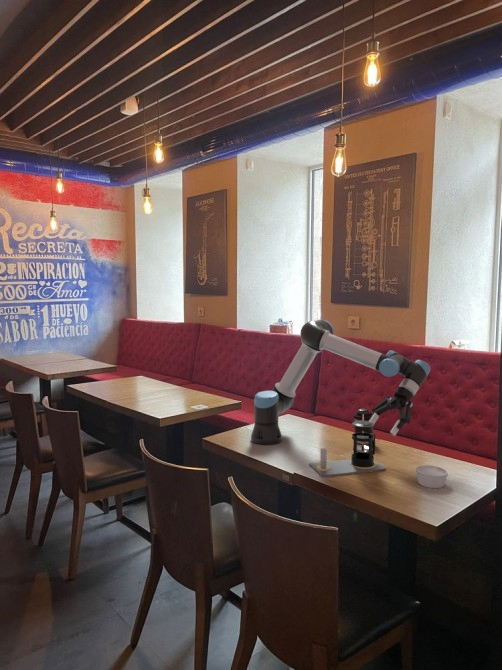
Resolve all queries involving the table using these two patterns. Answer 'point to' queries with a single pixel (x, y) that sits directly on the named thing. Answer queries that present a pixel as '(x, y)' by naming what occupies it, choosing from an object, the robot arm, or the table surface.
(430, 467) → the ramekin
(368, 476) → the table surface
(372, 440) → the french press
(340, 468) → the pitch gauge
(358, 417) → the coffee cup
